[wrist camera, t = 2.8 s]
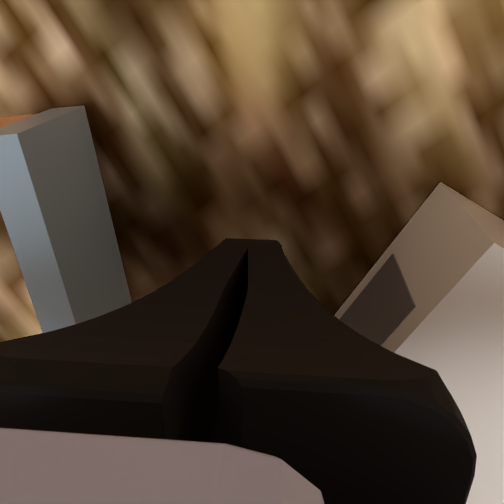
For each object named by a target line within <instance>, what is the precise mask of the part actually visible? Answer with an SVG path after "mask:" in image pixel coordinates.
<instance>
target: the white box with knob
mask: <svg viewBox="0 0 504 504" xmlns="http://www.w3.org/2000/svg"><path fill="white" fill-rule="evenodd" d="M334 316H335V317H336V318H338V319H339V320H340V321H342V322H343V323H345V324H346V325H347V326H349V327H350V328H352V329H353V330H355V331H356V332H358V333H359V334H361V335H362V336H364V337H366V338H367V339H369V340H371V341H373V342H375V343H376V344H378V345H380V346H382V347H384V348H386V349H388V350H390V351H392V352H394V353H396V354H398V355H401V356H403V357H405V358H408V359H410V360H413V361H415V362H417V363H420V364H422V365H425V366H427V367H429V368H432V369H434V370H436V371H437V372H438V373H439V375H440V377H441V379H442V380H443V382H444V384H445V385H446V387H447V389H448V390H449V392H450V393H451V395H452V397H453V399H454V400H455V402H456V404H457V406H458V408H459V410H460V411H461V413H462V415H463V418H464V420H465V422H466V425H467V427H468V430H469V432H470V434H471V437H472V440H473V444H474V447H475V451H476V455H477V459H476V468H475V476H474V479H473V482H472V485H471V489H470V492H469V495H468V498H467V501H466V504H504V220H502V219H500V218H499V217H497V216H495V215H494V214H492V213H491V212H489V211H487V210H486V209H484V208H482V207H481V206H479V205H478V204H476V203H474V202H473V201H471V200H469V199H468V198H466V197H464V196H463V195H461V194H460V193H458V192H456V191H455V190H453V189H451V188H450V187H448V186H447V185H445V184H443V183H442V182H440V183H439V184H438V185H437V187H436V188H435V189H434V190H433V192H432V193H431V194H430V195H429V197H428V198H427V199H426V200H425V202H424V203H423V204H422V205H421V207H420V208H419V209H418V210H417V212H416V213H415V214H414V215H413V217H412V218H411V219H410V220H409V222H408V223H407V224H406V226H405V227H404V228H403V229H402V231H401V232H400V233H399V234H398V236H397V237H396V238H395V239H394V241H393V242H392V243H391V244H390V246H389V247H388V248H387V249H386V251H385V252H384V253H383V254H382V256H381V257H380V258H379V259H378V261H377V262H376V263H375V264H374V266H373V267H372V268H371V269H370V271H369V272H368V273H367V275H366V276H365V277H364V278H363V280H362V281H361V282H360V283H359V285H358V286H357V287H356V288H355V290H354V291H353V292H352V293H351V295H350V296H349V297H348V298H347V300H346V301H345V302H344V303H343V305H342V306H341V307H340V308H339V310H338V311H337V312H336V313H335V315H334Z"/></svg>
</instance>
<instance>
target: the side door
mask: <svg viewBox="0 0 504 504" xmlns="http://www.w3.org/2000/svg"><path fill="white" fill-rule="evenodd" d="M0 211H1V214H2V217H3V220H4V222H5V225H6V228H7V231H8V234H9V237H10V240H11V243H12V245H13V248H14V251H15V254H16V257H17V260H18V263H19V265H20V268H21V271H22V274H23V277H24V280H25V283H26V286H27V288H28V291H29V294H30V297H31V300H32V303H33V306H34V308H35V311H36V314H37V317H38V320H39V323H40V326H41V329H42V331H43V333H46V332H50V331H54V330H57V329H61V328H64V327H68V326H71V325H75V324H78V323H81V322H84V321H87V320H90V319H93V318H96V317H99V316H101V315H104V314H106V313H108V312H111V311H113V310H116V309H118V308H121V307H123V306H126V305H128V304H130V303H132V301H131V297H130V293H129V289H128V284H127V280H126V276H125V272H124V268H123V264H122V260H121V256H120V251H119V247H118V243H117V239H116V235H115V231H114V227H113V222H112V218H111V214H110V210H109V206H108V202H107V198H106V194H105V189H104V185H103V181H102V177H101V173H100V169H99V165H98V161H97V156H96V152H95V148H94V144H93V140H92V136H91V132H90V128H89V123H88V119H87V115H86V111H85V107H84V105H82V106H71V107H60V108H51V109H48V110H46V111H43V112H41V113H38V114H29V115H18V116H7V117H1V118H0Z"/></svg>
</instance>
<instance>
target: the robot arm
mask: <svg viewBox="0 0 504 504" xmlns="http://www.w3.org/2000/svg"><path fill="white" fill-rule="evenodd" d="M476 459H477V455H476V451H475V447H474V444H473V440H472V437H471V434H470V432H469V430H468V427H467V425H466V422H465V420H464V418H463V415H462V413H461V411H460V410H459V408H458V406H457V404H456V402H455V400H454V399H453V397H452V395H451V393H450V392H449V390H448V389H447V387H446V385H445V384H444V382H443V380H442V379H441V377H440V375H439V373H438V372H437V371H436V370H434V369H432V368H429V367H427V366H425V365H422V364H420V363H417V362H415V361H413V360H410V359H408V358H405V357H403V356H401V355H398V354H396V353H394V352H392V351H390V350H388V349H386V348H384V347H382V346H380V345H378V344H376V343H375V342H373V341H371V340H369V339H367V338H366V337H364V336H362V335H361V334H359V333H358V332H356V331H355V330H353V329H352V328H350V327H349V326H347V325H346V324H345V323H343V322H342V321H340V320H339V319H338V318H336V317H335V316H334V315H333V314H331V313H330V312H329V311H328V310H327V309H326V308H325V307H324V306H322V305H321V304H320V303H319V302H318V301H317V300H316V299H315V297H314V296H313V295H312V294H311V293H310V292H309V290H308V289H307V288H306V287H305V286H304V284H303V283H302V282H301V280H300V279H299V277H298V276H297V274H296V273H295V271H294V270H293V268H292V267H291V265H290V264H289V262H288V260H287V258H286V256H285V254H284V252H283V249H282V245H281V244H280V243H279V242H278V241H277V240H255V239H231V238H226V239H225V240H224V241H222V242H221V243H220V244H219V245H218V246H216V247H215V248H214V249H213V250H212V251H211V252H209V253H208V254H207V255H206V256H205V257H203V258H202V259H201V260H200V261H198V262H197V263H196V264H195V265H193V266H192V267H191V268H189V269H188V270H186V271H185V272H183V273H182V274H181V275H179V276H178V277H176V278H175V279H173V280H172V281H170V282H169V283H168V284H166V285H164V286H163V287H161V288H159V289H157V290H156V291H154V292H152V293H150V294H148V295H146V296H145V297H143V298H141V299H139V300H137V301H135V302H133V303H130V304H128V305H126V306H123V307H121V308H118V309H116V310H113V311H111V312H108V313H106V314H104V315H101V316H99V317H96V318H93V319H90V320H87V321H84V322H81V323H78V324H75V325H71V326H68V327H64V328H61V329H57V330H54V331H50V332H46V333H42V334H37V335H32V336H28V337H23V338H18V339H13V340H8V341H4V342H0V504H466V501H467V498H468V495H469V492H470V489H471V485H472V482H473V479H474V476H475V468H476Z"/></svg>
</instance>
